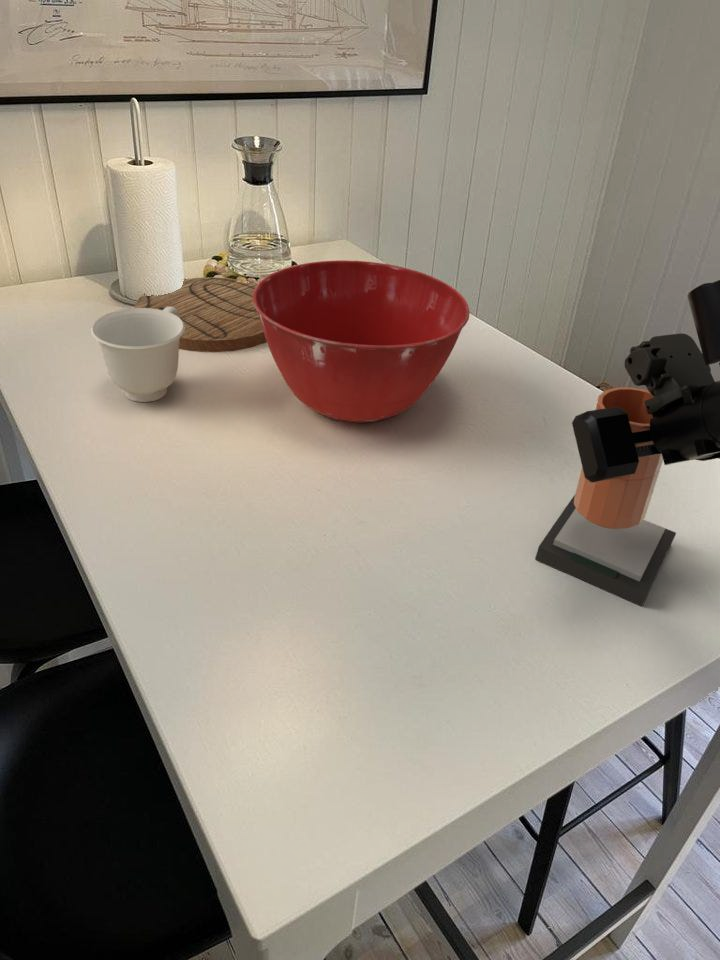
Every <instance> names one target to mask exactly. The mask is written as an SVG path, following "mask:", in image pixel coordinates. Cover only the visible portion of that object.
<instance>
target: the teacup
mask: <svg viewBox="0 0 720 960" xmlns="http://www.w3.org/2000/svg"><path fill="white" fill-rule="evenodd" d="M184 330H185V325H184V323H183V321H182V320H181V319H180V317H179V313H178V311H177V309H175V308H174V307H166V308H165V309H164V310H158V309H151V308H135V307H134V308H124V309H119V310H116V311H112V312H109V313H106V314H104V315H102V316H101V317H99V318H98V319H97V320H95V322H93V324H92V326H91V328H90V333H91V336H92V338H94V340H96V341H97V342H98V345H99V347H100V350H101V353H102V357H103V360H104V364H105V367H106V370H107V374H108V376H109V378H110V380H111V382H112V383H113V384H114V385H115V386H116V387H117V388H119V389H120V390H122V391H123V392H124V395H125V397H126V398H127V399H129V400H131V401H134V402H139V403H150V402H154V401H157V400H160V399H162V398H163V397H165V395H166V394H167V391H168V390H167V388H168V387H169V386H171V385H172V383H173V382H174V381H175V379H176V376H177V373H178V367H179V356H180V355H179V352H180V349H179V341H180V336H181V335H182V334H183V332H184Z"/></svg>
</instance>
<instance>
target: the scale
mask: <svg viewBox="0 0 720 960" xmlns="http://www.w3.org/2000/svg"><path fill="white" fill-rule="evenodd" d="M574 498H575V494H574V495H573V497H572V498H571V499H570V500H569V502H568V503H567V505H566V507H565V508H564V509H563V511H562V512H561V514H560V515H559V516H558V518H557V520H556V521H555V522H554V524H552V527H551V528H550V529H549V530H548V532H547V533H546V535H545V537H544V538H543V540H542V541H541V542H540V544H539V545H538V548H537V551H536V554H535V557H534V559H535V561H537V562H540V563H542V564H545V565H547V566H549V567H551V568H554V569H556V570H557V571H561V572H563V573H565V574H567V575H569V576H572V577H574V578H576V579H578V580H581V581H583V582H585V583H587V584H589V585H592V586H594V587H597V588H599V589H601V590H603V591H606V592H608V593H610V594H612V595H614V596H617V597H619V598H621V599H624V600H626V601H628V602H630V603H632V604H635V605H637V606H640V607H641V608H642V607H643V606H644V605H645V602H646V600H647V597H648V595H649V593H650V592H651V589H652V587H653V585H654V582H655V580H656V579H657V576H658V575H659V572H660V570H661V568H662V566H663V564H664V562H665V560H666V557H667V555H668V553H669V551H670V550H671V549H670V548H671V547H672V544H673V542H674V539H675V537H676V535H677V532H676V531H673V530H671V529H668V528H665V527H663V526H660V525H657V524H655V523H653V522H651V521H648V520H646V519H643V520H642V522H641V523H640V524H638V525H636V526H633V527H630V528H625V529H609V528H604V527H601V526H598V525H596V524H594V523H592V522H590V521H589V520H587V519H585V518H584V517H583V516H582V515H581V514H580V513H579V512H578V511H577V509H576V507H575V505H574Z"/></svg>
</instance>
